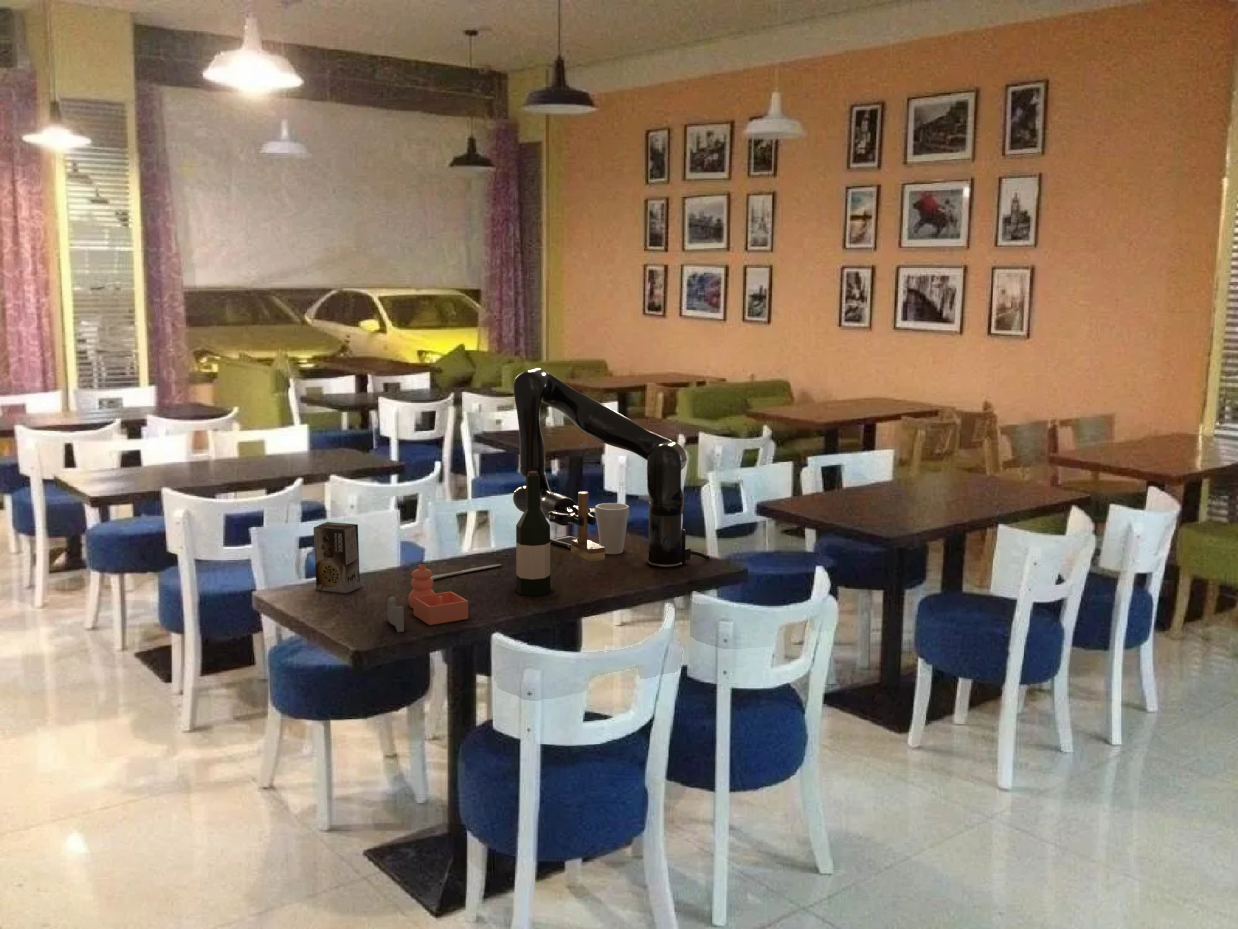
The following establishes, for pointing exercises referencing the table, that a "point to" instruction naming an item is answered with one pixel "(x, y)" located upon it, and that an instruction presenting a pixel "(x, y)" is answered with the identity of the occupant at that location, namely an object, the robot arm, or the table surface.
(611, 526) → the foam cup
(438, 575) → the butter knife
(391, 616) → the grey stepped plate
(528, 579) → the wine bottle
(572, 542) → the brush
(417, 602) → the pottery
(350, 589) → the coffee box
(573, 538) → the cell phone
